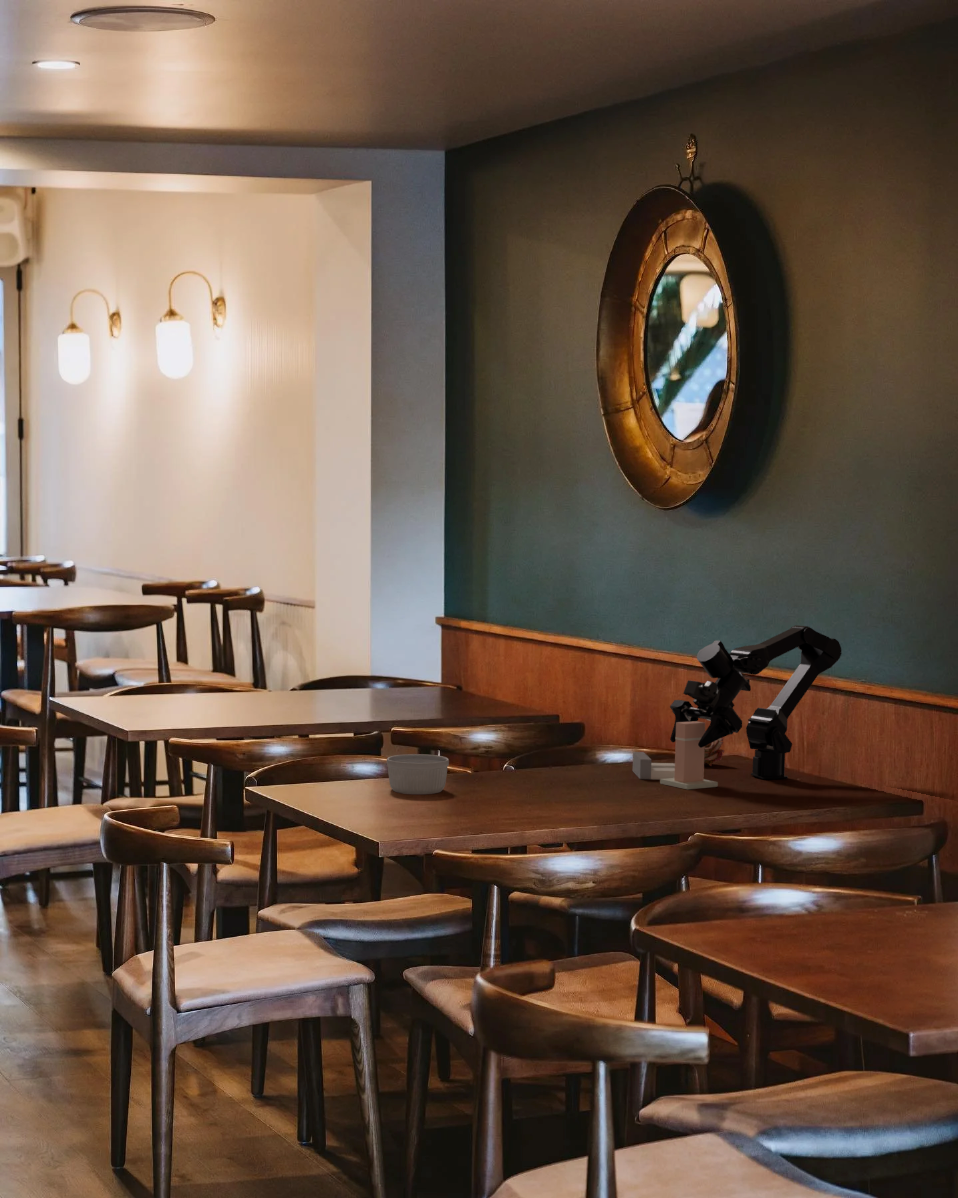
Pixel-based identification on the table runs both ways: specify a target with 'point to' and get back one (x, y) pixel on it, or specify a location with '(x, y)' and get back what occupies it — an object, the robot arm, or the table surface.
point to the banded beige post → (689, 752)
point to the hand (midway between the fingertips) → (685, 743)
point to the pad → (689, 783)
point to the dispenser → (651, 767)
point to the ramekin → (417, 773)
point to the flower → (713, 751)
